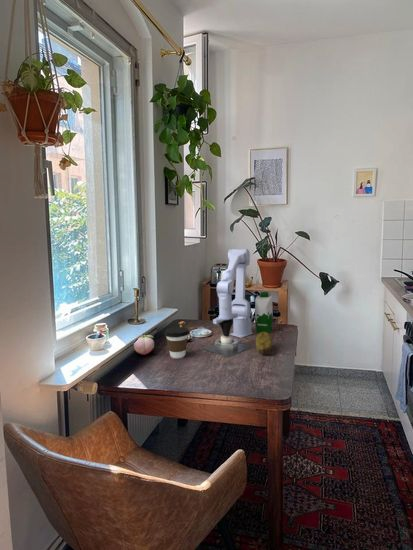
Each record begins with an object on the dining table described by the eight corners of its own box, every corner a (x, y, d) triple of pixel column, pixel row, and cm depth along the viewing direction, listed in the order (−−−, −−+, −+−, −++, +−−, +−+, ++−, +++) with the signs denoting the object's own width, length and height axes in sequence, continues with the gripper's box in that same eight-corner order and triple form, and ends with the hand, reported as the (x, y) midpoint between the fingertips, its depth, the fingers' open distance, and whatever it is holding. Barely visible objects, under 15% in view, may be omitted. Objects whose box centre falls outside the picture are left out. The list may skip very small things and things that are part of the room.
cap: (226, 344, 192) (226, 334, 191) (234, 347, 189) (233, 336, 188) (218, 347, 189) (218, 336, 188) (226, 349, 185) (226, 338, 184)
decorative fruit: (152, 350, 190) (151, 329, 188) (156, 355, 182) (155, 334, 181) (132, 353, 187) (130, 332, 185) (135, 359, 179) (134, 337, 178)
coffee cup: (186, 361, 175) (185, 334, 173) (162, 359, 177) (161, 333, 175) (192, 352, 186) (191, 326, 184) (169, 351, 188) (168, 326, 186)
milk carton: (273, 328, 217) (273, 292, 214) (271, 333, 208) (270, 295, 205) (257, 327, 220) (256, 291, 216) (254, 332, 211) (253, 295, 208)
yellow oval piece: (251, 355, 179) (250, 337, 178) (258, 345, 191) (257, 329, 190) (269, 357, 176) (269, 339, 175) (275, 347, 188) (275, 330, 187)
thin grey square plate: (225, 340, 200) (225, 333, 199) (251, 348, 188) (250, 340, 188) (202, 349, 189) (201, 341, 188) (227, 357, 178) (227, 349, 177)
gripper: (229, 302, 193) (230, 330, 195) (207, 308, 183) (208, 337, 186) (241, 305, 188) (241, 333, 190) (219, 311, 178) (220, 341, 181)
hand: (226, 335), depth 188 cm, fingers closed
